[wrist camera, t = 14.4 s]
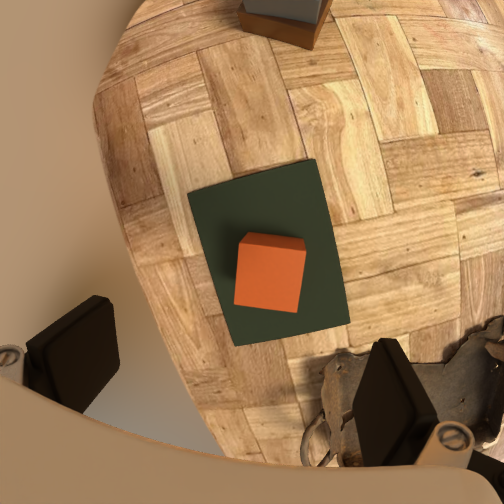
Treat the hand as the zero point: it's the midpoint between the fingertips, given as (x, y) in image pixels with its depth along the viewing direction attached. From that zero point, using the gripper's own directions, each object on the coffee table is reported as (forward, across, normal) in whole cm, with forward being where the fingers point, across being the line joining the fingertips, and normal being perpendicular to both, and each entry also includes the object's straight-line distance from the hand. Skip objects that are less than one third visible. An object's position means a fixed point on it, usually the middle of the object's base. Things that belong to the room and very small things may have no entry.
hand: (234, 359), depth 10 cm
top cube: (+18, 0, +2) cm, 18 cm away
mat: (+19, 0, +2) cm, 19 cm away
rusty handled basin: (+19, -20, +18) cm, 33 cm away
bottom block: (+19, 0, -23) cm, 30 cm away
